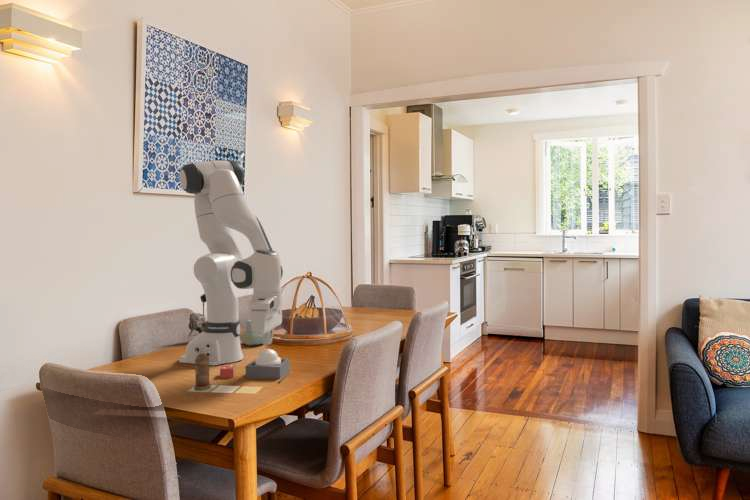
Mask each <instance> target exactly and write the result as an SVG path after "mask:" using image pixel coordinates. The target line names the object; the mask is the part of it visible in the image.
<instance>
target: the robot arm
mask: <svg viewBox="0 0 750 500" xmlns="http://www.w3.org/2000/svg"><path fill="white" fill-rule="evenodd" d="M244 176H245V175H244V170H243V166H242V165H241V164H240V163H239V162H238V161H236V160H232V159H227V160H220V159H219V160H216V159H215V160H209V161H208V160H207V161H201V162H195V163H193V162H190V163H186V164H184V165H183V166H182V167H181V169H180V170H179V183H180V185H181V188H182V189H183V191H185V193H188V194H191V195H194V196H193V205H194V212H195V213H194V214H195V220H196V224H197V228H198V234H199V238H200V240H201V241H202V242H203V244H205V245H206V247H207V249H208V251H209V252H210V253H207V254H205V255H203V256H201V257H199V258H198V259H196V261H195V262H194V264H193V275H194V277H195V278H196V279H197V280H198V282H200V284H201V286H202V290H203V292H204V294H205V296H206V302H205V303H206V321H205V322H204V323H203V324H201V325H202V326H201V327H200V328H202V327H203V331H202V332H201V333H200V334H199V333H198V334H197V335H196V336H195V337H194V338H192V339H191V340H190V341H189V342H188V343H187V345H186V349H185V354H184V355H182V356H180V357H179V359H178V362H179V363H180V364H181V363H182V364H192V365H194V364H195V365H196V363H195V358H196V356H197V355H199V354H202V353H203V354H206V355H207V356H208V357H209V363H208V364H209V366H217V365H223V364H230V363H231V364H232V363H236V362H238V361H242V360H243V359H244V354H243V351H242V350H243V349H242V346H241V340H240V336H241V324H240V323H241V322H240V321H241V320H240V319H239V298H238V296H236V294H235V293H234V291H233V287H232V284H233V285H234V286H235V287H236V288H237V289H240V290H249V289H250V290H251V289H252V290H253V291H252V298H251V300H250V301H249V303H248V309H249V310H250V319H251V329H252V333H253V334H254V335H263V338H264V343H263V344H264V345H267V346H269V345H271V344H272V343H273V336H274V332H275V331H274V330H275V328H277V327H279V326H281V325H282V322H283V312H282V304H283V303H282V301H283V300H282V298H283V297H282V287H281V280H282V278H283V273H284V270H283V267H282V265H281V258H280V256H279V253H278V252H277V251H276V250H275V251H274V250H273V248H272V246H271V244H270V241H269V238H268V236H267V234H266V232H265V230H264V228H263V225H262V223H261V221H260V219H259V218H258V217H257V215H255V214H254V213H253V211H252V210H251V209H250V206H249V205H248V203H247V201H246V197H245V193H244V191H243V189H242V184H243V182H244V178H245V177H244ZM232 230H234V231H236V232H238V233H241V235H244V236H245V237H246V238H247V239H248V241H249V243H250V246H251V248H252V250H253V253H252V254H251V255H250V256H248V257H246V256H245V255H244V254H242V252H241V250H240V248H239V247H238V245H237V242H236V240H235V238H234V236H233V233H232Z"/></svg>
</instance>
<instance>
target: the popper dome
mask: <svg viewBox="0 0 750 500" xmlns="http://www.w3.org/2000/svg"><path fill="white" fill-rule="evenodd" d="M256 358H257V359H256ZM256 358H255V359H256V360H255V359H254V360H255V365H256V366H279V365H280V364H281V358H282V357H279V355H278V353H277V351H275V350H273V349H271V348H266V349H263V350H262V351H261V352H260V353H259V355H258V357H256Z"/></svg>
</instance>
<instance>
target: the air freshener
mask: <svg viewBox="0 0 750 500" xmlns="http://www.w3.org/2000/svg"><path fill="white" fill-rule="evenodd" d="M245 326H246V327H245V328H246V329H245V330H243V332H242V333H240V335H239V338H240V342H242V344H244V345H247V346H248V347H250V346H251V347H253V346H254V347H255V346H259V345H262V344H264V338H263V335H254V334H253V333H252V329H251V318H250V319H247V320H246V322H245Z"/></svg>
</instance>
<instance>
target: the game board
mask: <svg viewBox="0 0 750 500" xmlns="http://www.w3.org/2000/svg"><path fill="white" fill-rule="evenodd" d="M262 388H263V386H248V385H247V386H246V385H245V386H244V385H242V386H241V387H240V385H221V384H220V385H219V386H218V385H214V384H211V388H210V389H208V390H202V391H198V390H195V389H194V386H193V387H191V388H190V389H188V390H187V392H189V393H190V392H192V393H193V392H194V393H209V392H210V393H218V394H219V393H220V394H221V393H222V394H232V393H234V394H243V395H244V394H247V395H248V394H249V395H255V394H257V393H258V392H260V391H261V389H262Z"/></svg>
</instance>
